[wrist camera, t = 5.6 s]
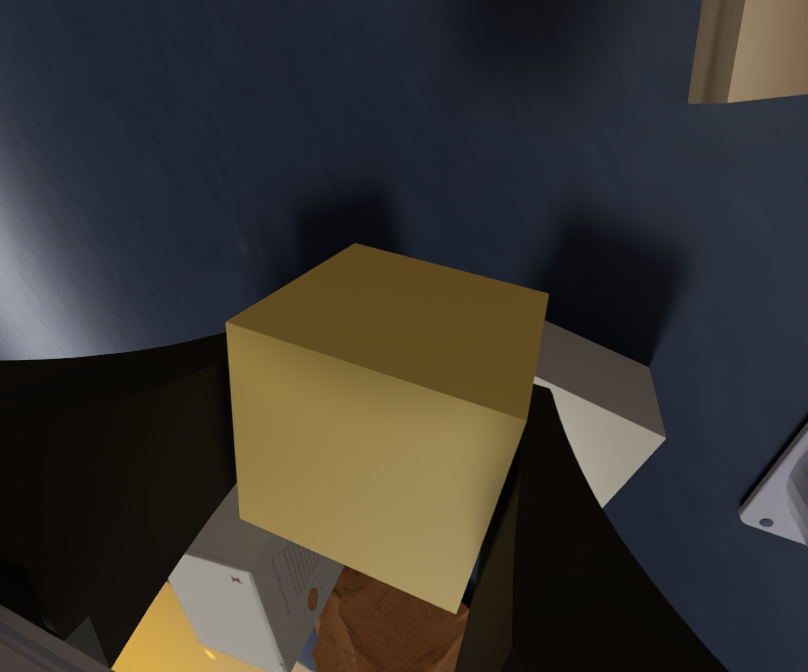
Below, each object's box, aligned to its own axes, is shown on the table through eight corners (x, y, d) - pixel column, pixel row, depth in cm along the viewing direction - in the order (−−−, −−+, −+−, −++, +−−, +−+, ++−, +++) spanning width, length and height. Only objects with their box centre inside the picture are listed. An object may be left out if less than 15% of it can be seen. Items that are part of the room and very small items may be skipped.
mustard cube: (549, 293, 10) (527, 421, 6) (496, 448, 13) (456, 614, 9) (354, 242, 12) (225, 322, 7) (341, 394, 14) (240, 517, 10)
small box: (279, 405, 29) (144, 539, 20) (358, 416, 27) (247, 571, 18) (302, 497, 32) (196, 646, 23) (373, 513, 30) (287, 683, 21)
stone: (337, 608, 42) (245, 681, 34) (388, 487, 37) (297, 538, 29) (464, 752, 35) (387, 890, 27) (547, 623, 30) (485, 742, 22)
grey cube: (648, 366, 19) (666, 438, 15) (589, 442, 22) (590, 521, 18) (541, 317, 20) (530, 374, 16) (496, 397, 23) (476, 462, 19)
